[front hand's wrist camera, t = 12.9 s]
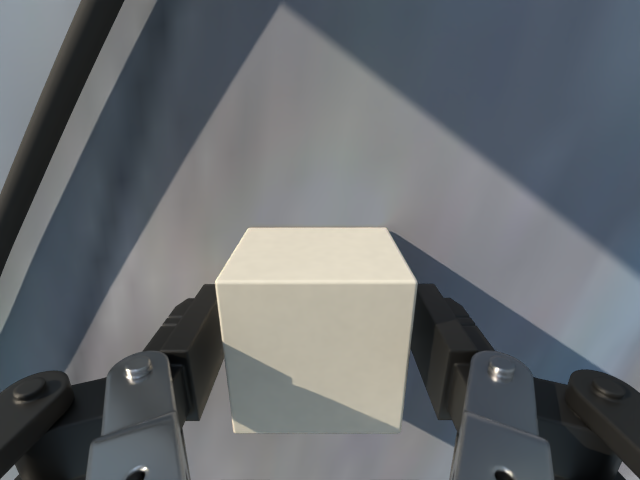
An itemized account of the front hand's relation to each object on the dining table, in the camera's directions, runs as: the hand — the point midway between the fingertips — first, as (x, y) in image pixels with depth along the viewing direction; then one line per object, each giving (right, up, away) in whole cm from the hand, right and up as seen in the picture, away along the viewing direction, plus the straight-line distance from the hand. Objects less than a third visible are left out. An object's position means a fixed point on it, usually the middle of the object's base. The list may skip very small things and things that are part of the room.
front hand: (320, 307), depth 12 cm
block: (0, 0, +1) cm, 1 cm away
